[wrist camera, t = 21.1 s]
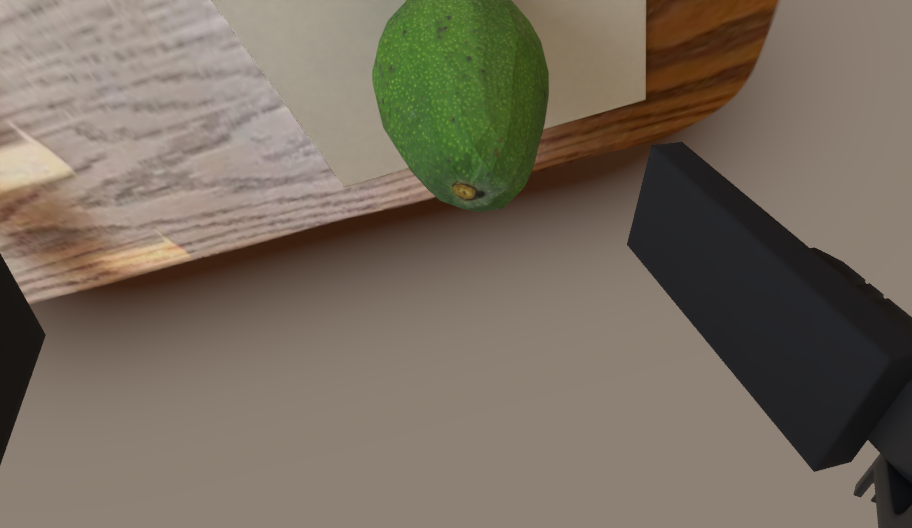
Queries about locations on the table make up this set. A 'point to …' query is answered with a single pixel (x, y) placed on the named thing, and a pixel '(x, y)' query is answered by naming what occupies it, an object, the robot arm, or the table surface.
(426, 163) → the avocado
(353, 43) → the corner mat
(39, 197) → the table surface
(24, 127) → the table surface
